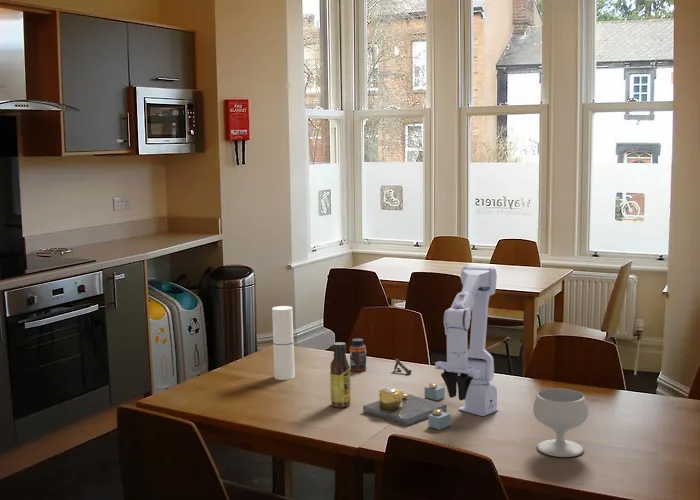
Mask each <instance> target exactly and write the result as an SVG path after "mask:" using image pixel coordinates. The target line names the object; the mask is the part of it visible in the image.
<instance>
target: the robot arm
mask: <svg viewBox="0 0 700 500" xmlns="http://www.w3.org/2000/svg"><path fill="white" fill-rule="evenodd" d="M460 283H461V284H462V288H461V291H460V292H457V294H456V295H455V297H454V299H453V301H452V304H451V306H450V307H449V308H447V309H446V310H445V311H444V314H443V326H444V335H446V361H440V360H439V361H436V362H434V363H435V365H434V367H435V370H442V371H443V372H441V373H440V374H441V375H440V377H441V378H442V380H443V381H444V383H445V386H446V389H447V393H448V397H449V398H451V399H452V398H455V397H456V396H457V393H458V400H459V401H464V405H463V406H461V407H458V410H459V411H463V412H466V413H470V414H473V415H477V416H480V417H485V416H487V415H490V414H493V413H495V412H498V411H499V408H498V391H497V387H496V386H495V385H493V384H491V383H490V382H492V380H493V379H494V375H495V366H494V365H495V362H494V361H495V360H494V356H492V354H491V353H490V352H489V351H487V349H486V343H487V340H486V339H487V330H488V328H487V325H488V314H489V313H488V312H489V302H490V297H491V296H493V295H494V294H496V290H497V289H496V288H497V270H496V268H495V267H494V266H475V265H474V266H473V265H464V266H463V267H462V268H461V272H460ZM469 328H470V335H469V336H470V337H469V338H470V339H469V348H468V331H469ZM480 359H481V360H480ZM457 390H458V392H457Z"/></svg>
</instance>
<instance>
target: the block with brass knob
mask: <svg viewBox="0 0 700 500" xmlns="http://www.w3.org/2000/svg"><path fill="white" fill-rule="evenodd" d="M427 420H428V421H427V422H428V428H429V427H430V428H432V429H436V430H439V431H440V430H442V429H444V428H447V427H449V426H451V413H449V412H446V411H445V412H442V410H440V409H435V410H433V414H430V415H428V418H427Z"/></svg>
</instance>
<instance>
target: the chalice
mask: <svg viewBox="0 0 700 500" xmlns="http://www.w3.org/2000/svg"><path fill="white" fill-rule="evenodd" d="M532 411H533V414H534V417H535V419H536V420H537V421H538V422H539V423H541V424H542V425H544V426H546V427H547V428H549V429H552V430H553V432H554V433H555V434H556V439H553V438H552V439H547V440H543V441H540V442H539V443H538V444H537V445H536V449H537V450H538V451H539V452H540V453H542V454H545V455H548V456H553V457H559V458H570V457H571V458H572V457H577V456H579V455H582V454H583V453H584V452H585V449H584V447H583V446H582V445H581V444H579V443H577V442H575V441H571V440H567V439H565V438H564V437H565V435H566V433H567V432H568V431H570V430H572V429H574V428H577V427H579V426H581V425H583V424H584V423H585V422H586V421H587V419H588V417H589V407H588V402H587V400H586V397H585V395H584V394H583V393H582V392H581V391H578V390H574V389H569V388H561V387H559V388H557V387H555V388H554V387H552V388H544V389H543V390H540V391H539V392H538V393H537V394H536V396H535V399H534V402H533V409H532Z"/></svg>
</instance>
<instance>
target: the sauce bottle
mask: <svg viewBox="0 0 700 500" xmlns="http://www.w3.org/2000/svg"><path fill="white" fill-rule="evenodd" d="M332 348H333V359H332V361H331V363H330V373H329V374H330V375H329V377H330V379H329V381H330V386H329V387H330V402H331V403H330V405H331V406H332V407H333V408H338V409H339V408H341V409H342V408H346V407H349V406H350V405H351V400H352V399H351V369H350V363H349V362H348V359H347V355H346V352H347V351H346V348H347V344H346V342H341V341H340V342H339V341H337V342H334V343H332Z"/></svg>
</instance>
